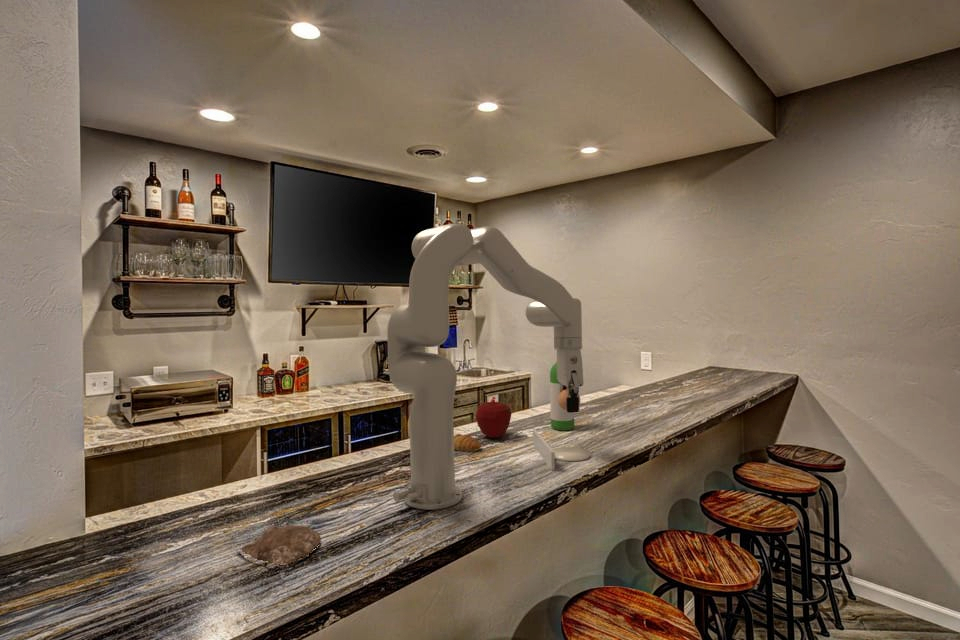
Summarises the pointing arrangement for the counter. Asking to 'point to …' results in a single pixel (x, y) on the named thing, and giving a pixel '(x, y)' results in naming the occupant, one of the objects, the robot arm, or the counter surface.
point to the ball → (564, 399)
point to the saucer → (571, 454)
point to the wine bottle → (558, 415)
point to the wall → (544, 450)
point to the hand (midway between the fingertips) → (569, 408)
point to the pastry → (466, 443)
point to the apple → (493, 418)
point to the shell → (283, 544)
